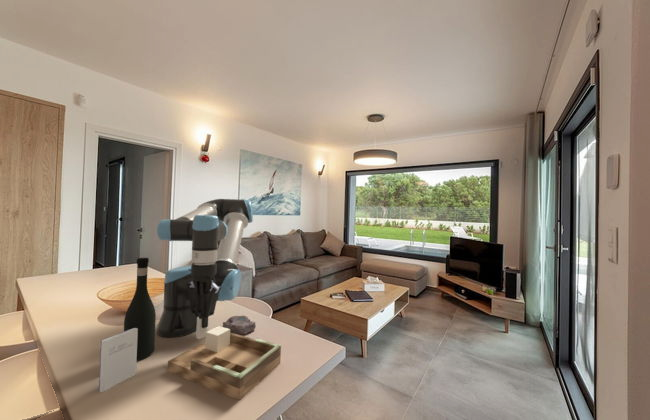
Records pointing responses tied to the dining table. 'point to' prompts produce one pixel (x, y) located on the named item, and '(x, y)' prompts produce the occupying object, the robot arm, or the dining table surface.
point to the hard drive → (118, 358)
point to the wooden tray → (228, 365)
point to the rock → (239, 325)
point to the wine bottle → (142, 313)
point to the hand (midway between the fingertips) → (201, 336)
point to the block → (217, 339)
